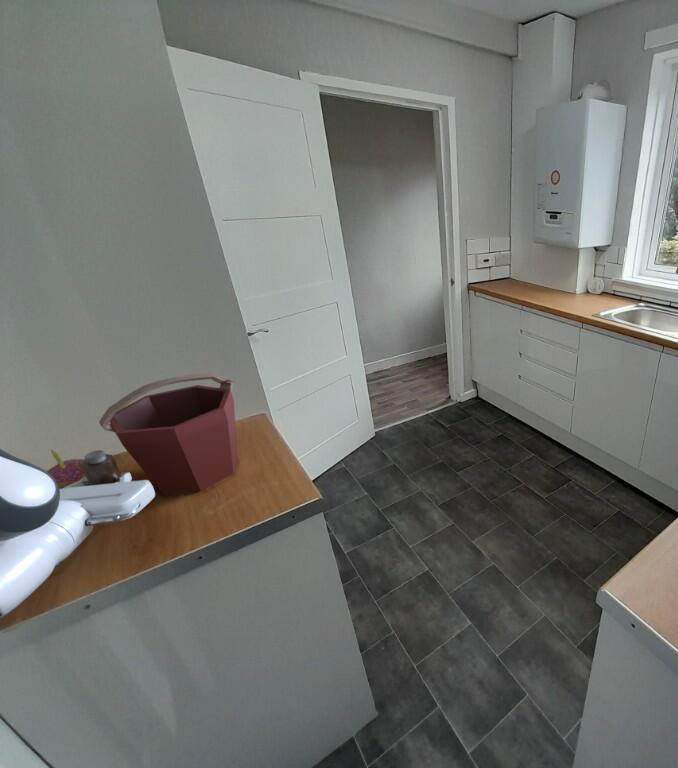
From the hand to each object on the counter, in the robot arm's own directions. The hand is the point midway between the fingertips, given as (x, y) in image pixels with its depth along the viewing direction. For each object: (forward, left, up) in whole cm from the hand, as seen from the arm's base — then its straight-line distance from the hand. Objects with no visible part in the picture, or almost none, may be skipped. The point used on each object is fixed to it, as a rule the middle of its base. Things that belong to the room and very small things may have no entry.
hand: (108, 477), depth 79 cm
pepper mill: (-1, -1, -8) cm, 8 cm away
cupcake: (-6, +24, -12) cm, 28 cm away
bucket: (+14, +11, -12) cm, 22 cm away
